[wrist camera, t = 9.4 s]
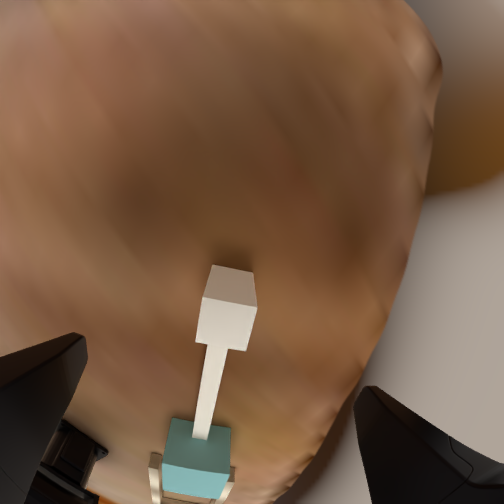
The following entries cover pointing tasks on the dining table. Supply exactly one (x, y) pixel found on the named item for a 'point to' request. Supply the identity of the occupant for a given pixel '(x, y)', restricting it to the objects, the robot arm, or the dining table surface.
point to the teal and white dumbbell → (211, 388)
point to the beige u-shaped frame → (158, 500)
